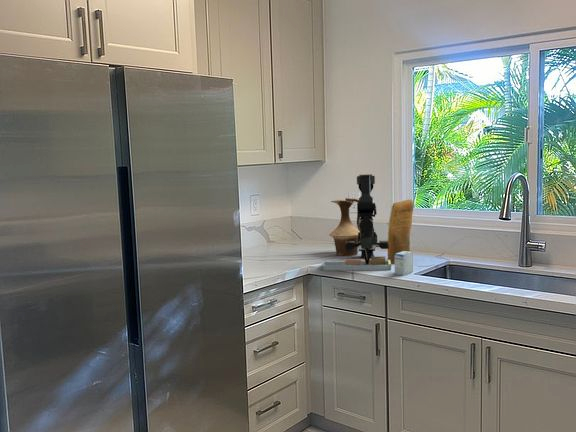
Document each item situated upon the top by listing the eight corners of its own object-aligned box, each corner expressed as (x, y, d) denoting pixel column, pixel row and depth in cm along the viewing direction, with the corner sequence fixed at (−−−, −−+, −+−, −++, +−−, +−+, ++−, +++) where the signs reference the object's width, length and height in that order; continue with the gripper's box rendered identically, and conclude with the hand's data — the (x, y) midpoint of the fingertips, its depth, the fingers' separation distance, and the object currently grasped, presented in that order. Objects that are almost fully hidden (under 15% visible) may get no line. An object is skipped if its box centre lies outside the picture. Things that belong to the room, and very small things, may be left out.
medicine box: (403, 271, 244) (403, 250, 243) (413, 272, 241) (413, 251, 240) (394, 274, 238) (394, 253, 237) (404, 275, 235) (403, 254, 234)
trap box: (323, 264, 264) (323, 258, 264) (389, 263, 260) (389, 258, 260) (321, 270, 251) (320, 264, 250) (391, 269, 247) (390, 264, 246)
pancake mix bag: (419, 259, 268) (418, 199, 265) (393, 265, 255) (392, 202, 252) (407, 257, 273) (406, 198, 270) (381, 263, 260) (380, 202, 257)
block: (371, 266, 255) (371, 256, 255) (385, 266, 254) (385, 256, 254) (371, 268, 250) (371, 258, 250) (385, 268, 249) (385, 258, 249)
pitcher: (364, 250, 295) (363, 196, 292) (365, 257, 278) (364, 199, 275) (329, 251, 296) (328, 197, 293) (329, 257, 280) (327, 200, 277)
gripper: (344, 232, 244) (345, 268, 246) (388, 231, 242) (389, 268, 243) (345, 228, 255) (346, 263, 257) (388, 227, 253) (388, 262, 254)
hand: (367, 264), depth 253 cm, fingers closed
